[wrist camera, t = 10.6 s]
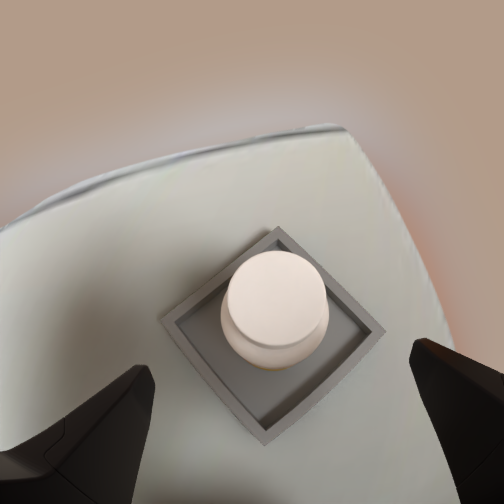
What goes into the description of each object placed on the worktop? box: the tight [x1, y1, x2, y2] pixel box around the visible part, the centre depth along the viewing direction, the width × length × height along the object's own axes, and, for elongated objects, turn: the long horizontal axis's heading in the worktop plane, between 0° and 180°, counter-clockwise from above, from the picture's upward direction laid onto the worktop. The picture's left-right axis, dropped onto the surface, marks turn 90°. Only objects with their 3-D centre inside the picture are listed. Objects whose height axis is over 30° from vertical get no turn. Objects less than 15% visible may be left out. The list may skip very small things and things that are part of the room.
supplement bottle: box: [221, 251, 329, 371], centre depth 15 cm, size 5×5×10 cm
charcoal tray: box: [160, 226, 386, 446], centre depth 19 cm, size 12×12×2 cm
